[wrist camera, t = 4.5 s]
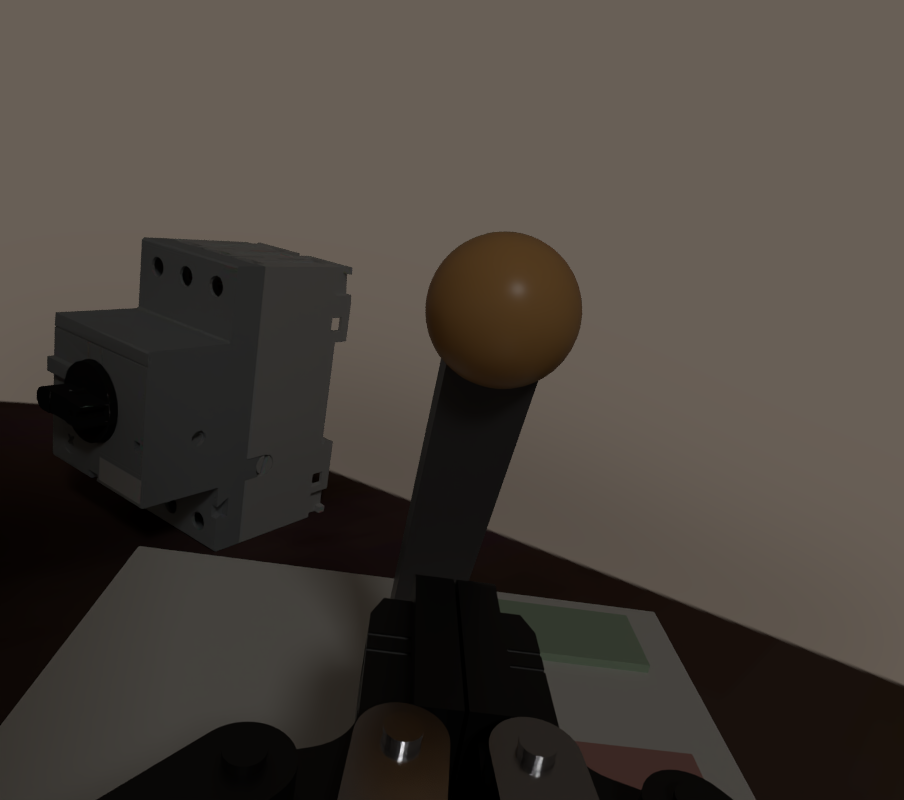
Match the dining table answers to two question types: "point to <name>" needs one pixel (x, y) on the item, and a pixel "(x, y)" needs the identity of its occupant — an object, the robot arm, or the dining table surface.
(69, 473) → the dining table surface
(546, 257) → the breaker lever
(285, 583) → the box
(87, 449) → the circuit breaker
